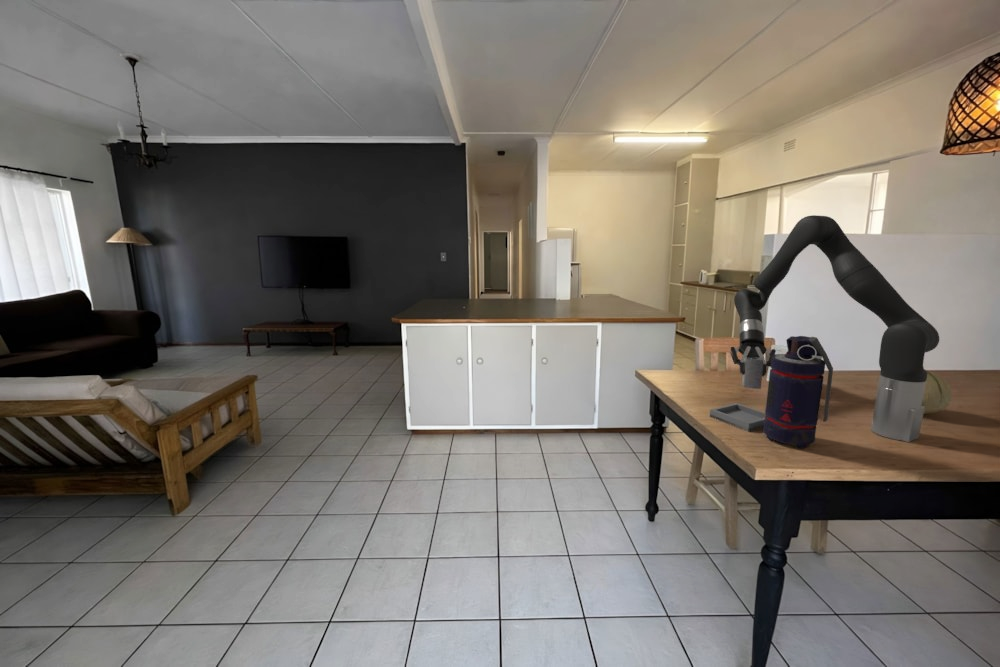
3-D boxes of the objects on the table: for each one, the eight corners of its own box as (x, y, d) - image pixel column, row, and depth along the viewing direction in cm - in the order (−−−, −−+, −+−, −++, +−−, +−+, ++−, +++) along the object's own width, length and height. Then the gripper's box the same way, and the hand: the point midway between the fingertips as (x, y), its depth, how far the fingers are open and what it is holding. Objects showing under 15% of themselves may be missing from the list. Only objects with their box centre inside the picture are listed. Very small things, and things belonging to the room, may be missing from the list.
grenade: (758, 439, 112) (769, 337, 106) (767, 427, 120) (779, 331, 115) (819, 456, 102) (835, 344, 97) (825, 441, 110) (840, 337, 105)
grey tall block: (758, 384, 138) (761, 356, 136) (760, 389, 133) (763, 360, 131) (741, 383, 140) (744, 355, 138) (743, 387, 135) (746, 358, 133)
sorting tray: (775, 423, 123) (776, 416, 122) (748, 431, 117) (749, 423, 117) (735, 409, 134) (736, 403, 134) (709, 416, 129) (710, 409, 129)
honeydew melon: (942, 425, 120) (951, 378, 117) (878, 410, 132) (885, 367, 129) (952, 414, 128) (961, 370, 125) (890, 401, 140) (898, 361, 137)
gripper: (730, 327, 143) (730, 367, 134) (777, 329, 137) (780, 371, 128) (727, 339, 148) (727, 377, 140) (772, 341, 142) (776, 382, 134)
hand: (753, 374), depth 134 cm, fingers closed on grey tall block, 5 cm apart
